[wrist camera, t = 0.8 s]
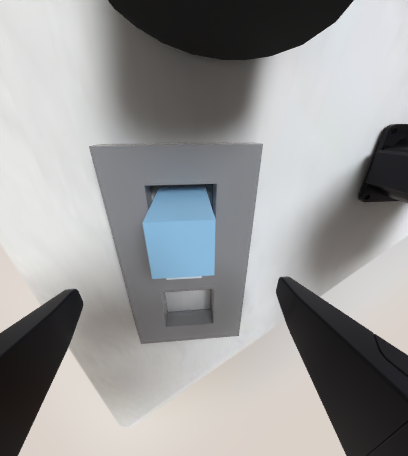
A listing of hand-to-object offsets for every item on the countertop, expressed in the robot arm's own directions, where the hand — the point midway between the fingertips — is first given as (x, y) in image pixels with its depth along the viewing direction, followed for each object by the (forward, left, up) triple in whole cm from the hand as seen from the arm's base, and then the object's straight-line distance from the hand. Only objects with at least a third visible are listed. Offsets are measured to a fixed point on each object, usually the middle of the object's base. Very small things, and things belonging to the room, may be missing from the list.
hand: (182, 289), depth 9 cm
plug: (0, 0, -10) cm, 10 cm away
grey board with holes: (0, +6, -10) cm, 11 cm away
